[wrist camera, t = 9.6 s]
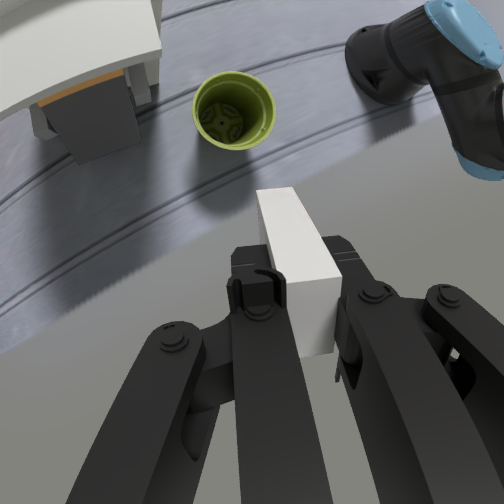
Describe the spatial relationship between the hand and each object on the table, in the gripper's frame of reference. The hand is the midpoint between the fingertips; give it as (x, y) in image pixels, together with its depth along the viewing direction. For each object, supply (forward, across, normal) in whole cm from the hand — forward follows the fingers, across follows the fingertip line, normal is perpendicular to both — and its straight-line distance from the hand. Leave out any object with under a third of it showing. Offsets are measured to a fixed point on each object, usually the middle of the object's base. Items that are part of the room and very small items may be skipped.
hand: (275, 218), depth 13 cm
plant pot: (+31, -3, 0) cm, 31 cm away
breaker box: (+29, -18, +6) cm, 35 cm away
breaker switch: (+23, -16, +1) cm, 28 cm away
